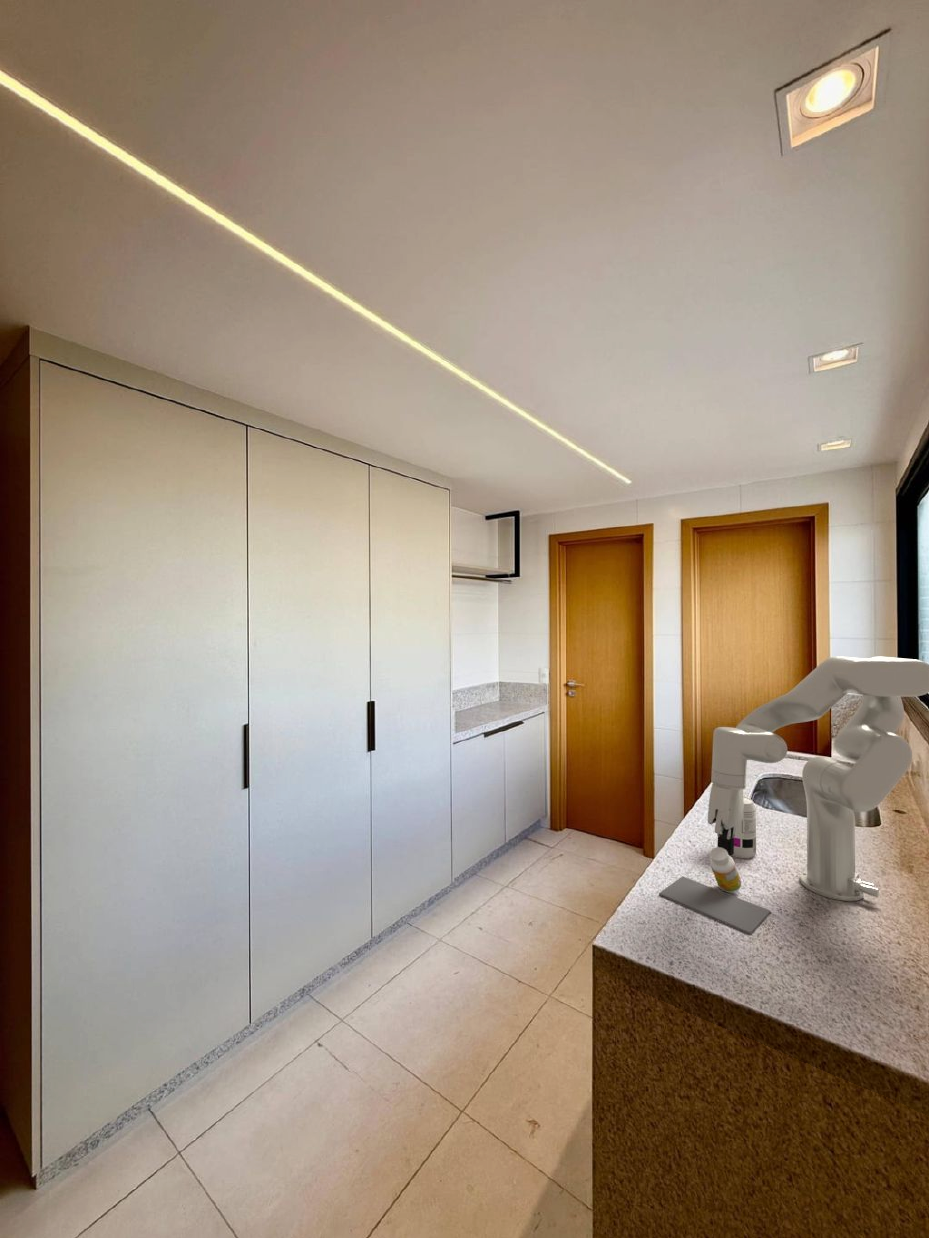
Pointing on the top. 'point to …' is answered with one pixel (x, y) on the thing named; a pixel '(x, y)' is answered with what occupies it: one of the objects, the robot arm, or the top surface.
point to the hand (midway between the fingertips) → (725, 853)
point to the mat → (716, 904)
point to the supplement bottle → (724, 870)
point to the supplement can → (746, 832)
